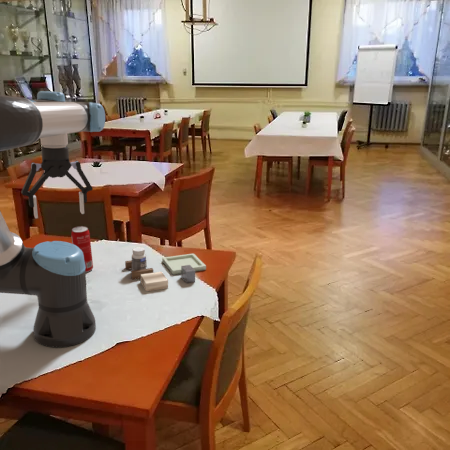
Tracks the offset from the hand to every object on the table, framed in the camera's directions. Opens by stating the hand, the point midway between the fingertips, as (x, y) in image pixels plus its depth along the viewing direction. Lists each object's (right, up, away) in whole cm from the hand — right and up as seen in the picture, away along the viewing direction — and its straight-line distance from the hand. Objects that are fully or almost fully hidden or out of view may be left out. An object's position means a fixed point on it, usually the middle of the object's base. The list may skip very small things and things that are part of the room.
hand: (59, 215), depth 140 cm
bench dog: (+39, -21, +9) cm, 45 cm away
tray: (+37, -17, +20) cm, 45 cm away
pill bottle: (+22, -19, +13) cm, 32 cm away
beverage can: (+3, -18, +13) cm, 23 cm away
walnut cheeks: (+22, -19, +13) cm, 32 cm away
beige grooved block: (+28, -23, +5) cm, 37 cm away
